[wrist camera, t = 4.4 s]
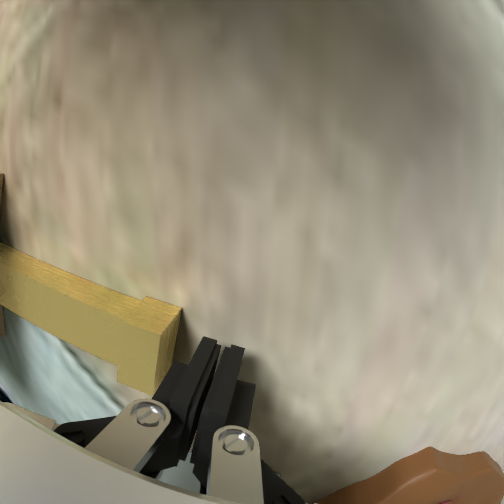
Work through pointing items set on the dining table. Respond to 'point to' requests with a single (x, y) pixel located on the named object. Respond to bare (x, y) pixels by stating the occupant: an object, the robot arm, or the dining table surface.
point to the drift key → (93, 317)
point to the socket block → (0, 323)
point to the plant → (429, 481)
